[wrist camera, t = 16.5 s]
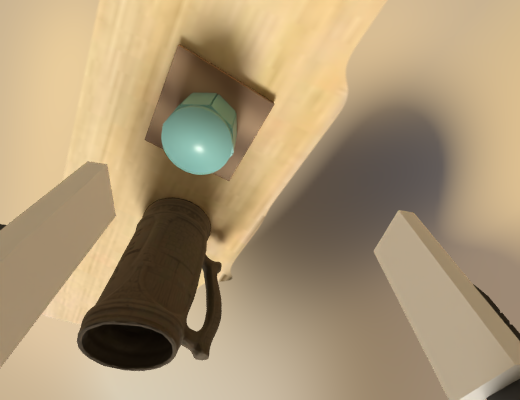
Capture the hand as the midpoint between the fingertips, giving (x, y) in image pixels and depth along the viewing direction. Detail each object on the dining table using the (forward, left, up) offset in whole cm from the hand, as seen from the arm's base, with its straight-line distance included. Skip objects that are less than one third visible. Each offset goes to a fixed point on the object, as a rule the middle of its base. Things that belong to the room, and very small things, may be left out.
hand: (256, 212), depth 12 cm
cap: (+5, -4, -22) cm, 23 cm away
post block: (+5, -4, -23) cm, 24 cm away
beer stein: (+23, +1, -23) cm, 33 cm away
